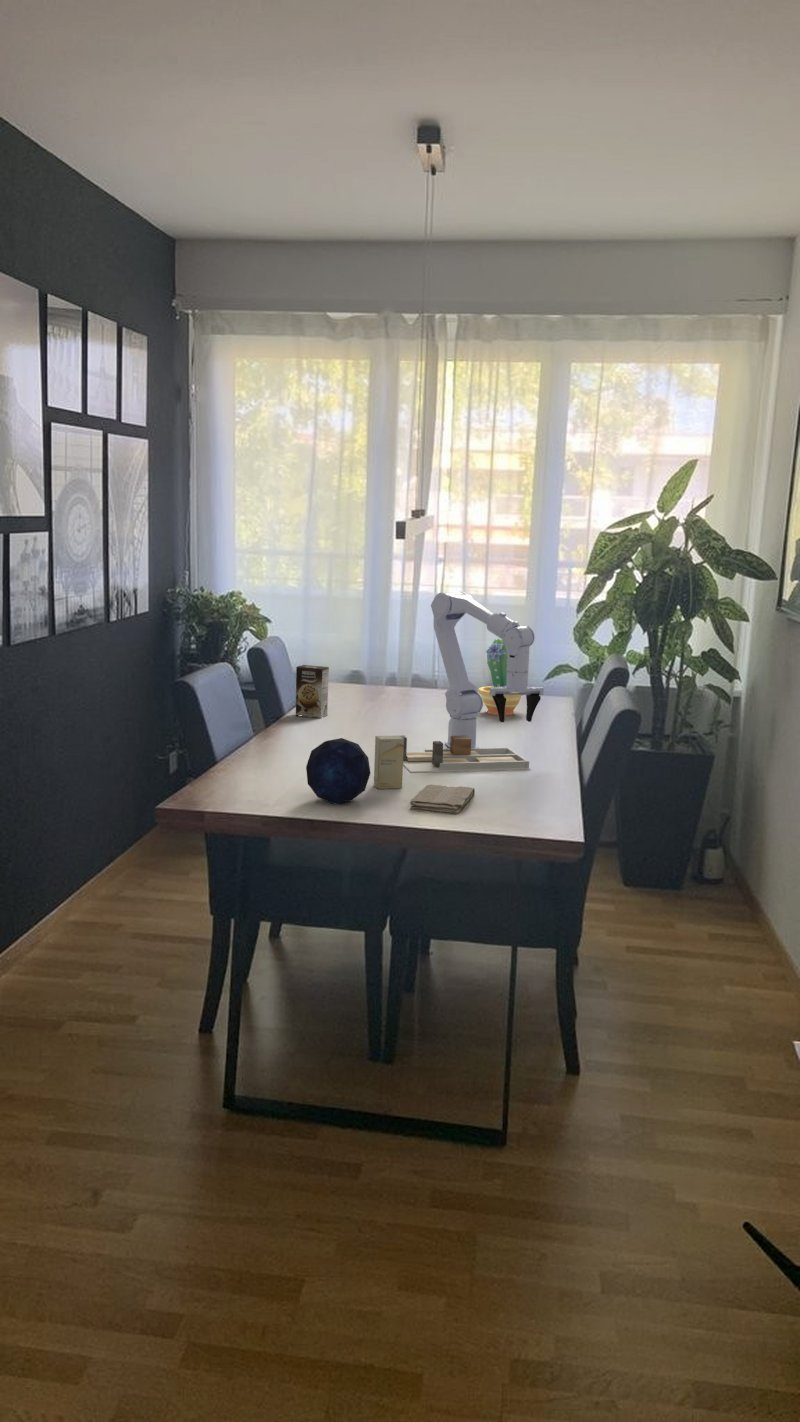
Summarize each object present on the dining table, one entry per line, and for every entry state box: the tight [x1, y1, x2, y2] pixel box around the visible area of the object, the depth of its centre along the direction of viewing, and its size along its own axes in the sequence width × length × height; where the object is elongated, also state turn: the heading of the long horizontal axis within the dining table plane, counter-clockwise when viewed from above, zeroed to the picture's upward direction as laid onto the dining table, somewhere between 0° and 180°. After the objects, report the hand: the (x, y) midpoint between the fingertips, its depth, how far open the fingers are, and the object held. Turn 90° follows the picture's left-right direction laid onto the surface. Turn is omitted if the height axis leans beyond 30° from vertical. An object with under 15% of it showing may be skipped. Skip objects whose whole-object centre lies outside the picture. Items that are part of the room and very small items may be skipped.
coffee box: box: [295, 664, 330, 719], centre depth 334 cm, size 9×6×16 cm
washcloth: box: [409, 784, 476, 815], centre depth 235 cm, size 12×18×3 cm, turn 166°
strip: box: [400, 735, 480, 761], centre depth 277 cm, size 6×22×6 cm, turn 103°
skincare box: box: [373, 735, 404, 790], centre depth 247 cm, size 6×4×12 cm
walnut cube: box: [449, 735, 471, 755], centre depth 278 cm, size 4×4×4 cm
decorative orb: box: [305, 737, 371, 804], centre depth 234 cm, size 14×15×15 cm
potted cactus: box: [478, 638, 525, 716], centre depth 347 cm, size 15×15×25 cm
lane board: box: [403, 746, 531, 774], centre depth 275 cm, size 18×32×2 cm, turn 102°
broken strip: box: [432, 740, 517, 766], centre depth 271 cm, size 6×22×6 cm, turn 102°
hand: (515, 721), depth 279 cm, fingers open, 7 cm apart
